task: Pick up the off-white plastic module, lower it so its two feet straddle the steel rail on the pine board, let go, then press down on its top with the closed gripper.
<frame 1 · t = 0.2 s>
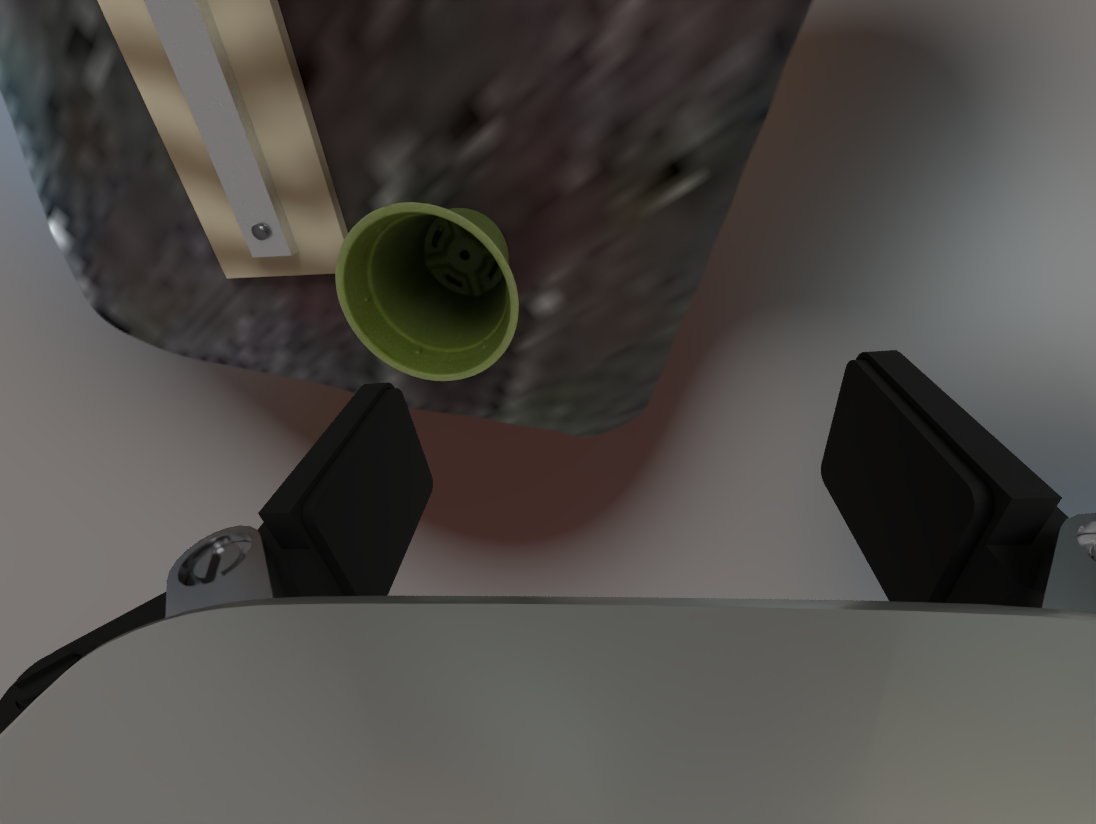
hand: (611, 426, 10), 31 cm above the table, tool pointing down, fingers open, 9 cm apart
rail board: (216, 62, 34), on the table
plant pot: (468, 250, 40), on the table
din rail: (198, 61, 32), on the rail board, point 1 cm above the table
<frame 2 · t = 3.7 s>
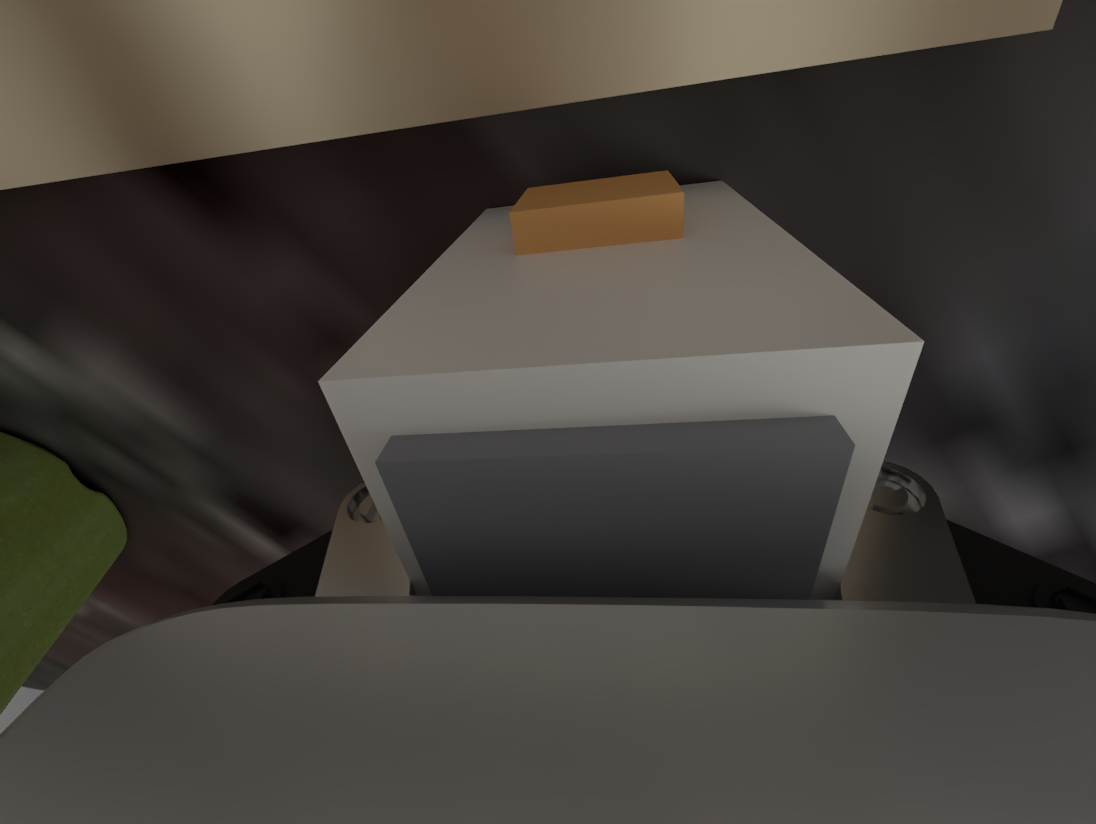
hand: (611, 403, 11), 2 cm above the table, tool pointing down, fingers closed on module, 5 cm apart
module: (610, 369, 12), on the table, touching gripper
plant pot: (43, 493, 18), on the table
when the fingers open (4 cm above the table, at t = 8.9 s): module drops 1 cm, resting on rail board.
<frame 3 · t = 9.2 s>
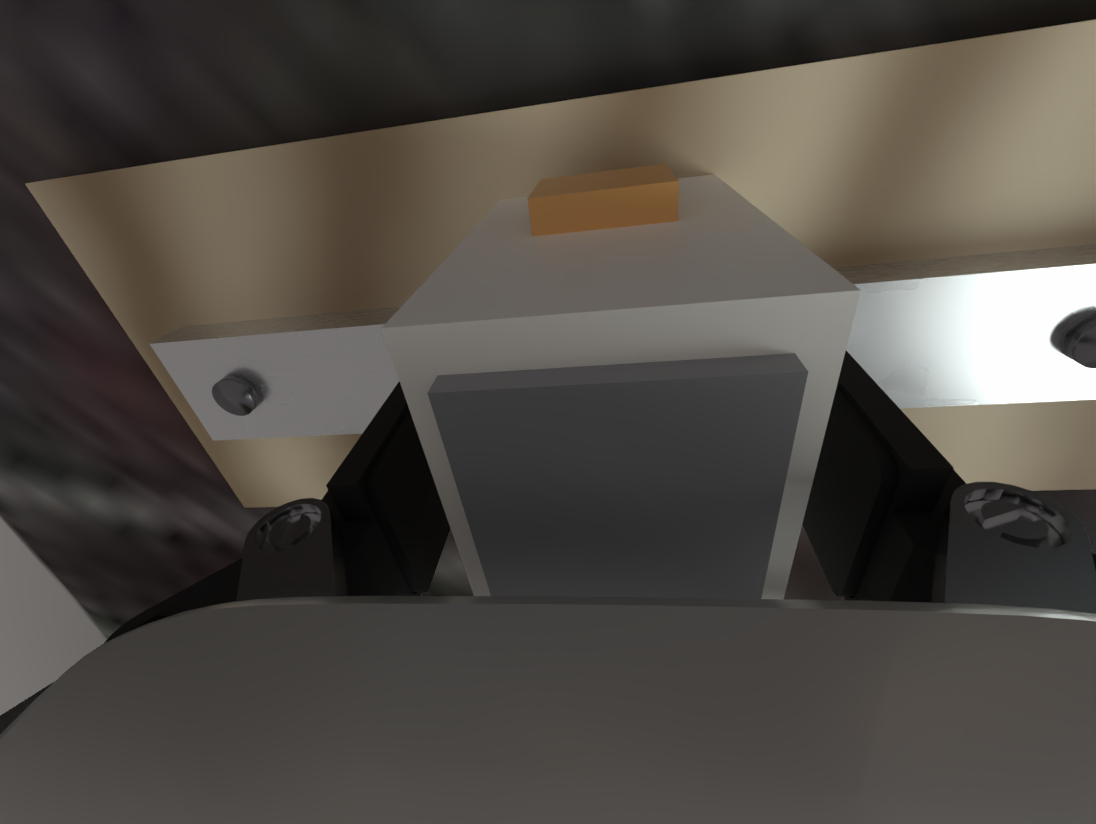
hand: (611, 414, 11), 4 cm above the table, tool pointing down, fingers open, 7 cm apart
rail board: (609, 332, 14), on the table
module: (612, 349, 13), point 1 cm above the table, touching rail board
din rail: (610, 360, 13), on the rail board, point 1 cm above the table
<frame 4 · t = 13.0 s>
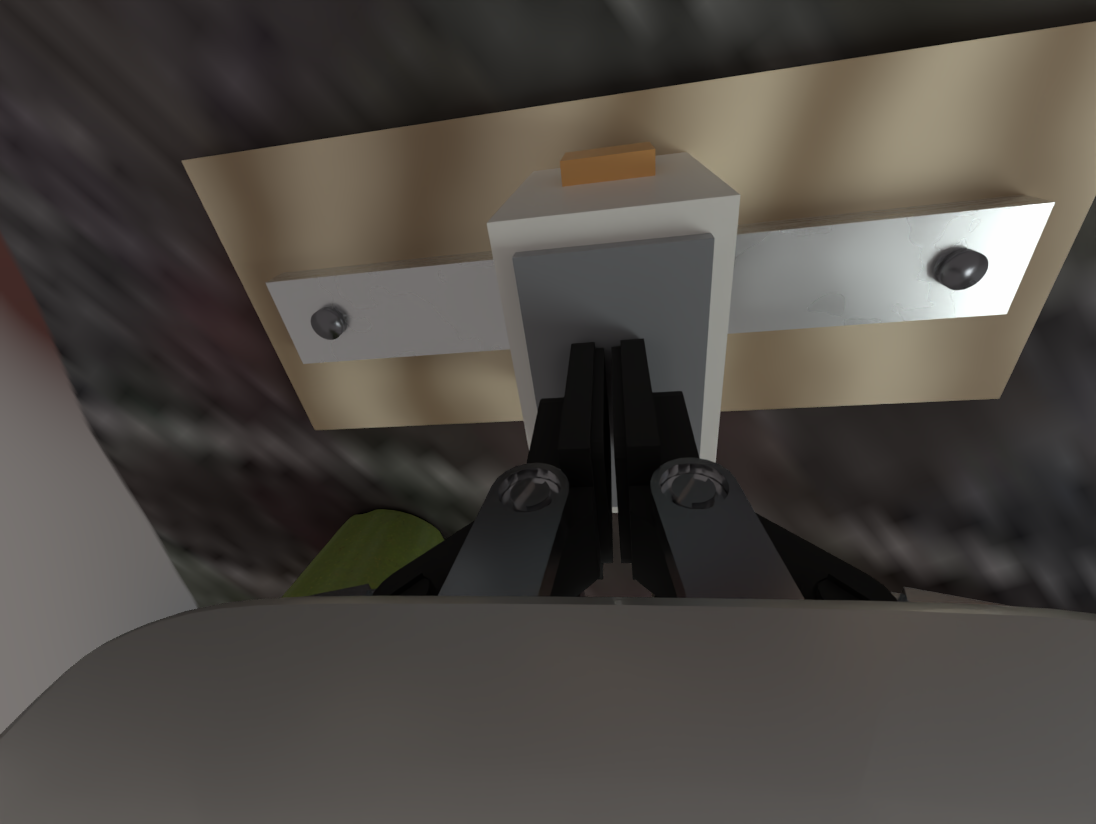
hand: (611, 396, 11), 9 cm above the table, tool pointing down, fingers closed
rail board: (611, 277, 19), on the table
module: (614, 287, 18), point 1 cm above the table, touching gripper, rail board
plant pot: (402, 545, 30), on the table
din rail: (612, 293, 17), on the rail board, point 1 cm above the table
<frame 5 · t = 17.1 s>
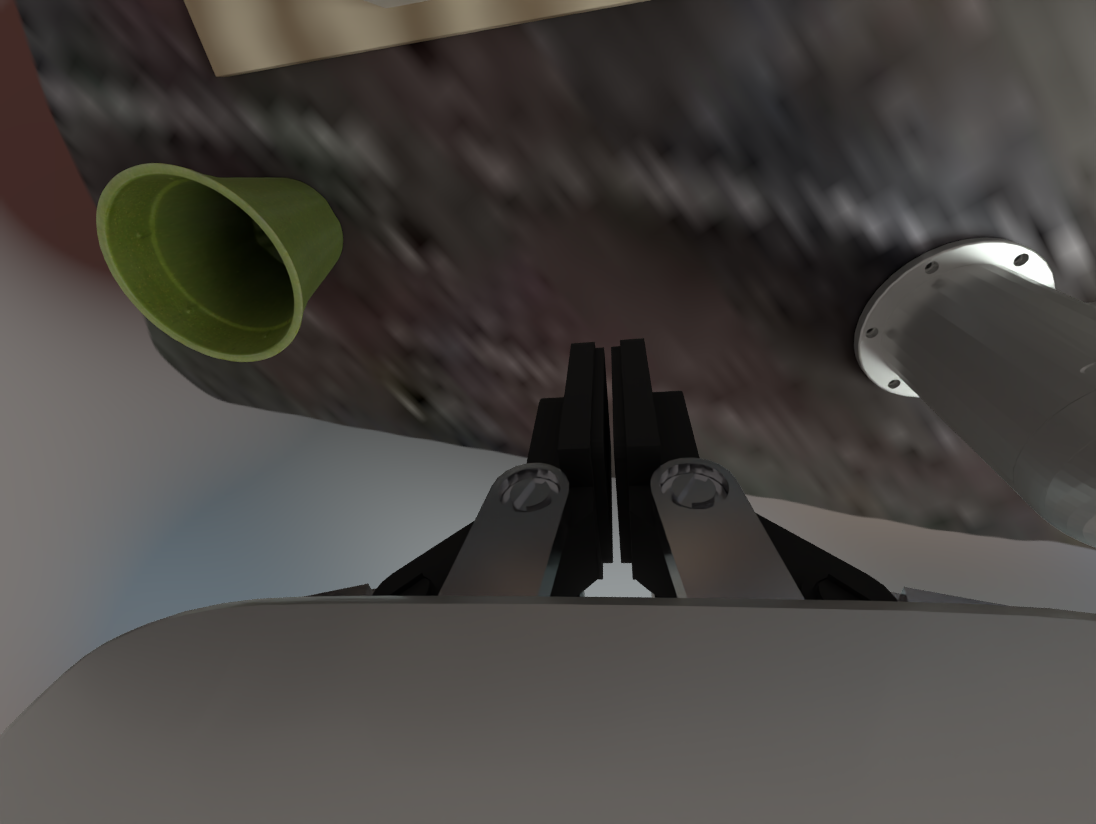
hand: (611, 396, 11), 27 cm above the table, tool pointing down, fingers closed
plant pot: (302, 228, 37), on the table
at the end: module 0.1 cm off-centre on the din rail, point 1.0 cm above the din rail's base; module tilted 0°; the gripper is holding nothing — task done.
